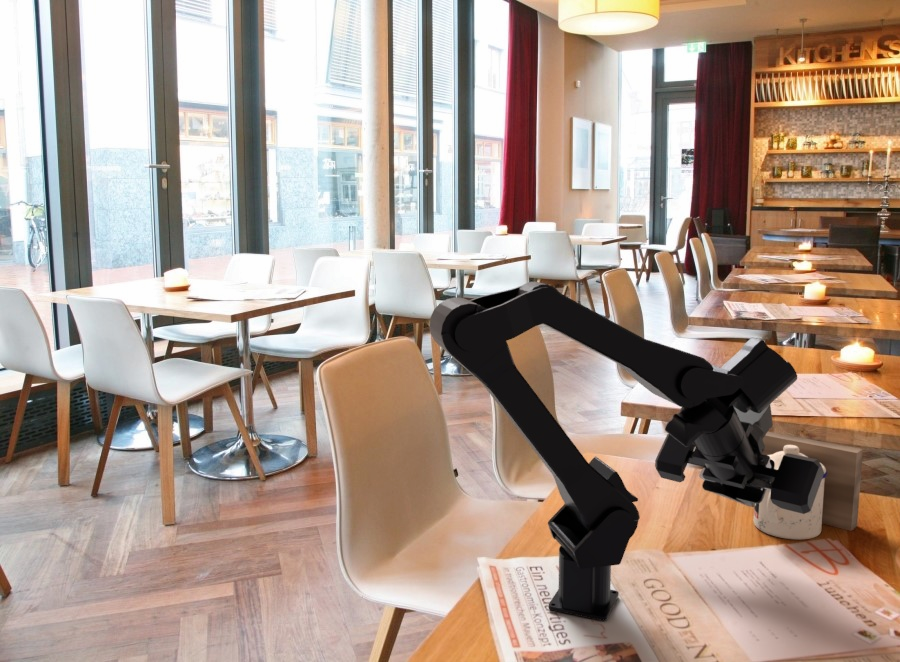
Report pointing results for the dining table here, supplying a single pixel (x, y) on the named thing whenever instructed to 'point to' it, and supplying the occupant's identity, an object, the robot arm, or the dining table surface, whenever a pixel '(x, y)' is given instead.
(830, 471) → the bookend
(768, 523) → the teacup with lid
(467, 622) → the dining table surface
